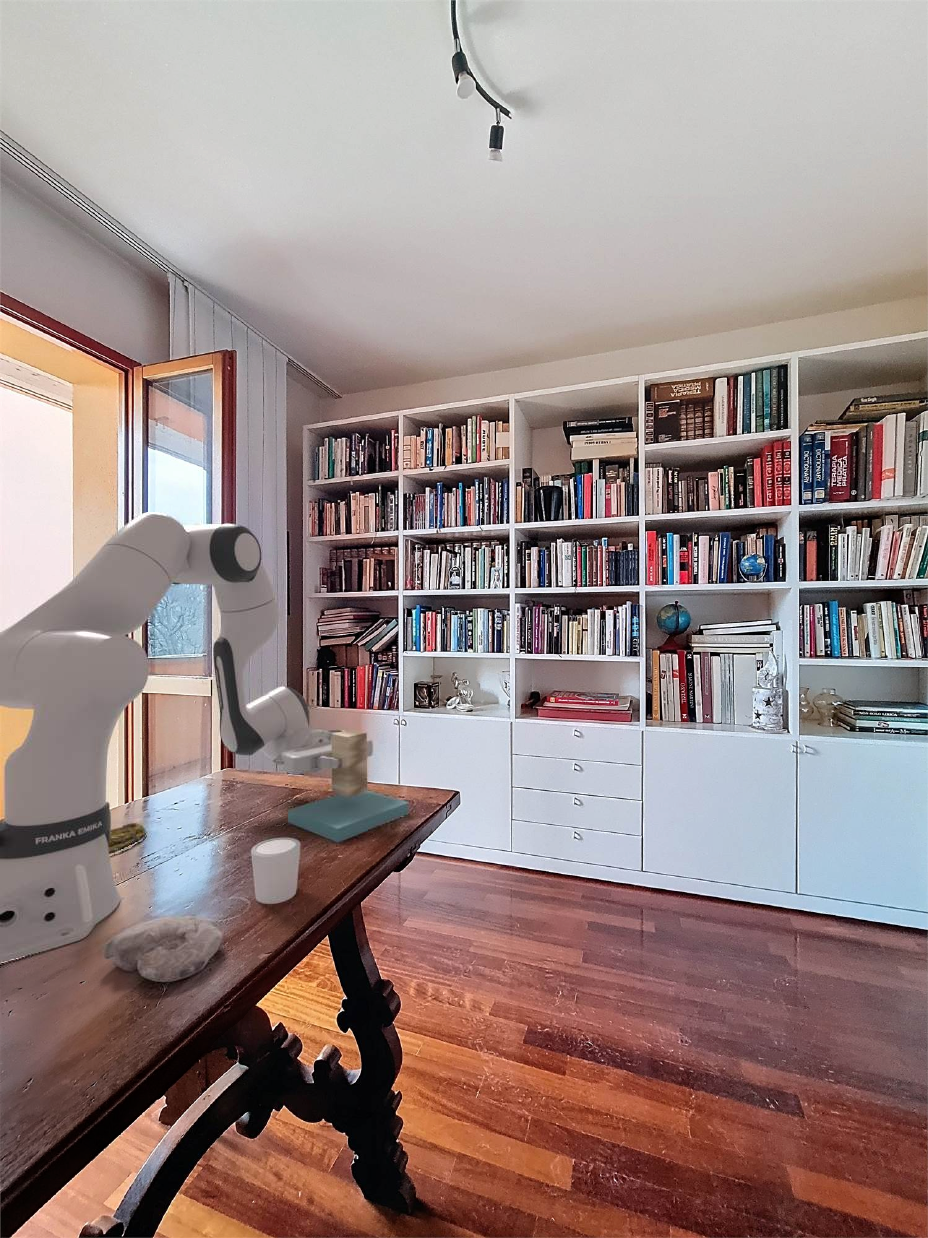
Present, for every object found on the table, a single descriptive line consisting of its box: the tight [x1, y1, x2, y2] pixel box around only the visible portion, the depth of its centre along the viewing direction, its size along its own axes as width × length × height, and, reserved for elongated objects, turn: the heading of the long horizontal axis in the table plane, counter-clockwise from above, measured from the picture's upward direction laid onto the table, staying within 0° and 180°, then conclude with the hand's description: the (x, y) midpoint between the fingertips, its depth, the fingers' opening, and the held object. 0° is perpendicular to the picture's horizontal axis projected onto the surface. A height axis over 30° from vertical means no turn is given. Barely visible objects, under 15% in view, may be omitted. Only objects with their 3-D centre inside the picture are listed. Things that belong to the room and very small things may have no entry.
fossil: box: [102, 915, 224, 983], centre depth 63 cm, size 12×4×10 cm
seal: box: [108, 822, 147, 854], centre depth 97 cm, size 9×5×15 cm
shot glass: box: [250, 837, 301, 905], centre depth 78 cm, size 7×7×7 cm
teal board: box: [287, 789, 410, 843], centre depth 108 cm, size 18×16×2 cm
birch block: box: [331, 729, 368, 798], centre depth 109 cm, size 5×5×12 cm
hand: (352, 760), depth 108 cm, fingers closed on birch block, 5 cm apart
